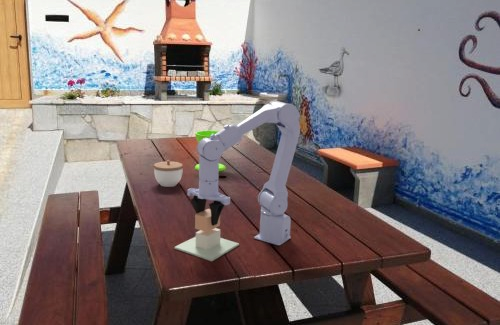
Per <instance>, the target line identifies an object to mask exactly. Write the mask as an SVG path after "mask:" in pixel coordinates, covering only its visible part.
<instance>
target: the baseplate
mask: <svg viewBox="0 0 500 325" xmlns="http://www.w3.org/2000/svg"><path fill="white" fill-rule="evenodd" d="M239 246H240V243H239V242H237V241H232V240H229V239H226V238H223V237H220V244H218V245H216V246H214V247H212V248H211V249H209V250H205V249H202V248H199V247H196V236H194V237H192V238H190V239H188V240H185V241H184V242H181V243H179V244H178V245H176V246H174V249H175V250H178V251H181V252H183V253H185V254H189V255H192V256H195V257H197V258H201V259H203V260H206V261H209V262H213V261H215V260H217V259H218V258H220V257H222V256H223V255H225V254H226V253H228V252H230V251H232V250H233V249H235V248H238V247H239Z"/></svg>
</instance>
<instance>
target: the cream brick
mask: <svg viewBox="0 0 500 325" xmlns="http://www.w3.org/2000/svg"><path fill="white" fill-rule="evenodd" d="M195 237H196V247H199V248H202V249H205V250H209V249H211V248H212V247H214V246H216V245H218V244H220V238H221V229H220V228H218V227H216V228H214V229H212V230H210V231H209V232H205V231H201V230H197V231H195Z"/></svg>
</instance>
